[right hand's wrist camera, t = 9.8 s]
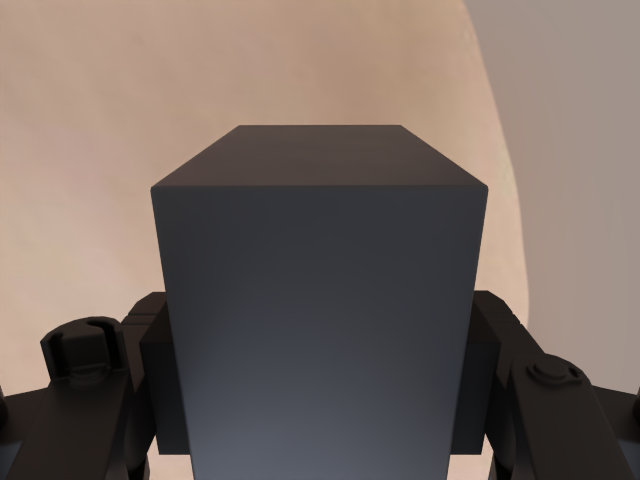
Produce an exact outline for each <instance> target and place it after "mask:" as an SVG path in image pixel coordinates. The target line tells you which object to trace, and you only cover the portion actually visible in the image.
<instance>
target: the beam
mask: <svg viewBox="0 0 640 480" xmlns="http://www.w3.org/2000/svg"><path fill="white" fill-rule="evenodd" d="M150 191H151V198H152V204H153V211H154V218H155V224H156V231H157V238H158V244H159V251H160V258H161V264H162V271H163V277H164V284H165V291H166V297H167V304H168V311H169V317H170V324H171V331H172V337H173V344H174V351H175V357H176V364H177V371H178V377H179V384H180V391H181V397H182V404H183V411H184V417H185V424H186V430H187V437H188V444H189V450H190V457H191V464H192V470H193V477H194V480H447V474H448V467H449V460H450V453H451V446H452V439H453V432H454V425H455V419H456V412H457V405H458V398H459V391H460V384H461V377H462V370H463V363H464V356H465V349H466V342H467V335H468V328H469V322H470V315H471V308H472V301H473V294H474V287H475V280H476V273H477V266H478V259H479V252H480V245H481V238H482V232H483V225H484V218H485V211H486V204H487V197H488V186H487V185H485V184H484V183H482V182H481V181H479V180H478V179H477V178H475V177H474V176H472V175H471V174H469V173H468V172H467V171H465V170H464V169H462V168H461V167H460V166H458V165H457V164H455V163H454V162H452V161H451V160H450V159H448V158H447V157H445V156H444V155H442V154H441V153H440V152H438V151H437V150H435V149H434V148H433V147H431V146H430V145H428V144H427V143H425V142H424V141H423V140H421V139H420V138H418V137H417V136H416V135H414V134H413V133H411V132H410V131H408V130H407V129H406V128H404V127H403V126H401V125H239V126H237V127H236V128H234V129H233V130H232V131H230V132H229V133H227V134H226V135H225V136H223V137H222V138H220V139H219V140H217V141H216V142H215V143H213V144H212V145H210V146H209V147H208V148H206V149H205V150H203V151H202V152H200V153H199V154H198V155H196V156H195V157H193V158H192V159H190V160H189V161H188V162H186V163H185V164H183V165H182V166H181V167H179V168H178V169H176V170H175V171H173V172H172V173H171V174H169V175H168V176H166V177H165V178H163V179H162V180H161V181H159V182H158V183H156V184H155V185H154V186H152V187H151V190H150Z"/></svg>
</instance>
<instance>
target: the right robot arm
mask: <svg viewBox="0 0 640 480" xmlns="http://www.w3.org/2000/svg"><path fill="white" fill-rule="evenodd" d="M40 344H41V348H42V351H43V355H44V358H45V362H46V365H47V369H48V372H49V376H50V379H51V381H50V383H49V385H48V387H47V388H43V389H39V390H35V391H30V392H25V393H20V394H15V395H10V396H5V397H4V395H3V392H2V389H1V386H0V480H149V476H150V469H149V462H148V457H147V452H148V450H149V448H150V445H151V443H152V441H153V439H154V436H155V435H156V440H157V445H158V451H159V455H190V450H189V444H188V437H187V430H186V424H185V417H184V411H183V404H182V397H181V391H180V384H179V377H178V371H177V364H176V357H175V351H174V344H173V337H172V331H171V324H170V317H169V311H168V304H167V297H166V292H152V293H150V294H149V295H147V296H146V297H144V298H142V299H141V300H139V301H138V302H137V303H136V304H135V305H134V307H133V308H132V309H131V310H130V312H129V313H128V316H126V317H125V318H124V319H123V321H122V322H121V323H120V322H118V321H117V320H116V319H114V318H109V317H105V316H100V317H87V318H82V319H77V320H74V321H71V322H68V323H66V324H63V325H60V326H59V327H57V328H55V329H54V330H52V331H51V332H49V333H47V334H46V336H45V337H44V338H43V339H42V340H41V341H40ZM485 433H486V436H487V438H488V440H489V442H490V445H491V447H492V449H493V451H494V452H493V457H492V462H491V467H490V472H489V477H488V480H640V388H639V391H638V394H637V395H635V394H630V393H625V392H620V391H615V390H610V389H605V388H601V387H597V386H593V385H591V383H590V380H589V379H588V378H587V376H586V375H585V374H584V372H583V371H582V370H581V369H579V368H578V367H576V366H575V365H574V364H572V363H571V362H569V361H566V360H564V359H562V358H560V357H557V356H554V355H550V354H546V353H544V351H543V350H542V349H541V348H540V346H539V345H538V344H537V343H536V341H535V340H534V339H533V338H532V336H531V335H530V334H529V332H528V331H527V330H526V329H525V327H524V326H523V325H522V324H520V321H519V320H518V318H517V317H516V316H515V315H514V314H513V313H512V311H511V309H510V308H509V307H508V306H507V304H506V303H505V302H504V301H503V300H502V299H500V298H499V297H497V296H496V295H494V294H492V293H491V292H489V291H474V294H473V301H472V308H471V315H470V322H469V328H468V335H467V342H466V349H465V356H464V363H463V370H462V377H461V384H460V391H459V398H458V405H457V412H456V419H455V425H454V432H453V439H452V446H451V453H450V455H481V453H482V447H483V442H484V436H485Z"/></svg>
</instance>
